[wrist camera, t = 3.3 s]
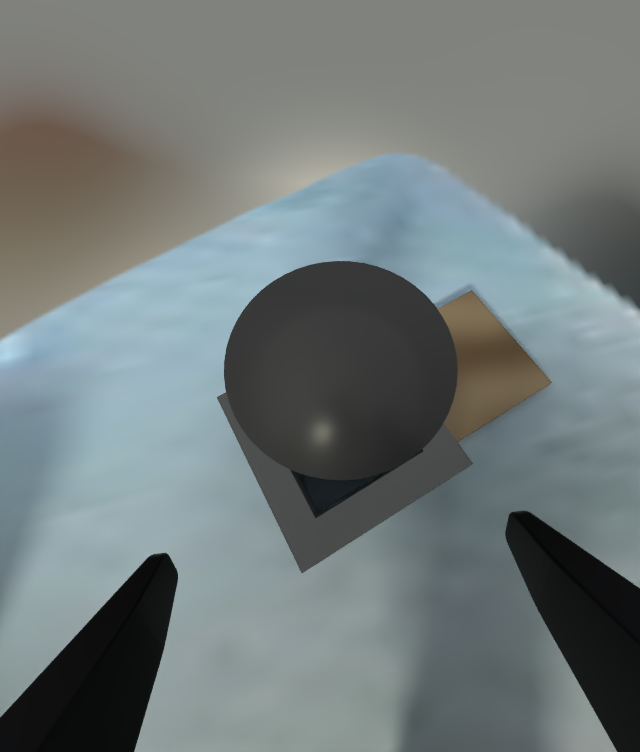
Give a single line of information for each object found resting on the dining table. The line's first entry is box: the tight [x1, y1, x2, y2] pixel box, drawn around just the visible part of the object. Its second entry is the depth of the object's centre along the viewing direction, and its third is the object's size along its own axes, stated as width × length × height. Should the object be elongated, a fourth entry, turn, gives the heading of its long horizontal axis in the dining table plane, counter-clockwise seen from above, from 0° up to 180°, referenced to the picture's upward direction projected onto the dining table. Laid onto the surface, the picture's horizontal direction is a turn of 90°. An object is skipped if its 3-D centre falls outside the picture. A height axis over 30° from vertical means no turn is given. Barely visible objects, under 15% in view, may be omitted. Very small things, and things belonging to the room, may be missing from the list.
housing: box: [217, 393, 473, 573], centre depth 19 cm, size 10×10×4 cm
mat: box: [438, 290, 552, 442], centre depth 21 cm, size 8×8×1 cm
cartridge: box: [224, 261, 458, 480], centre depth 14 cm, size 5×5×14 cm
